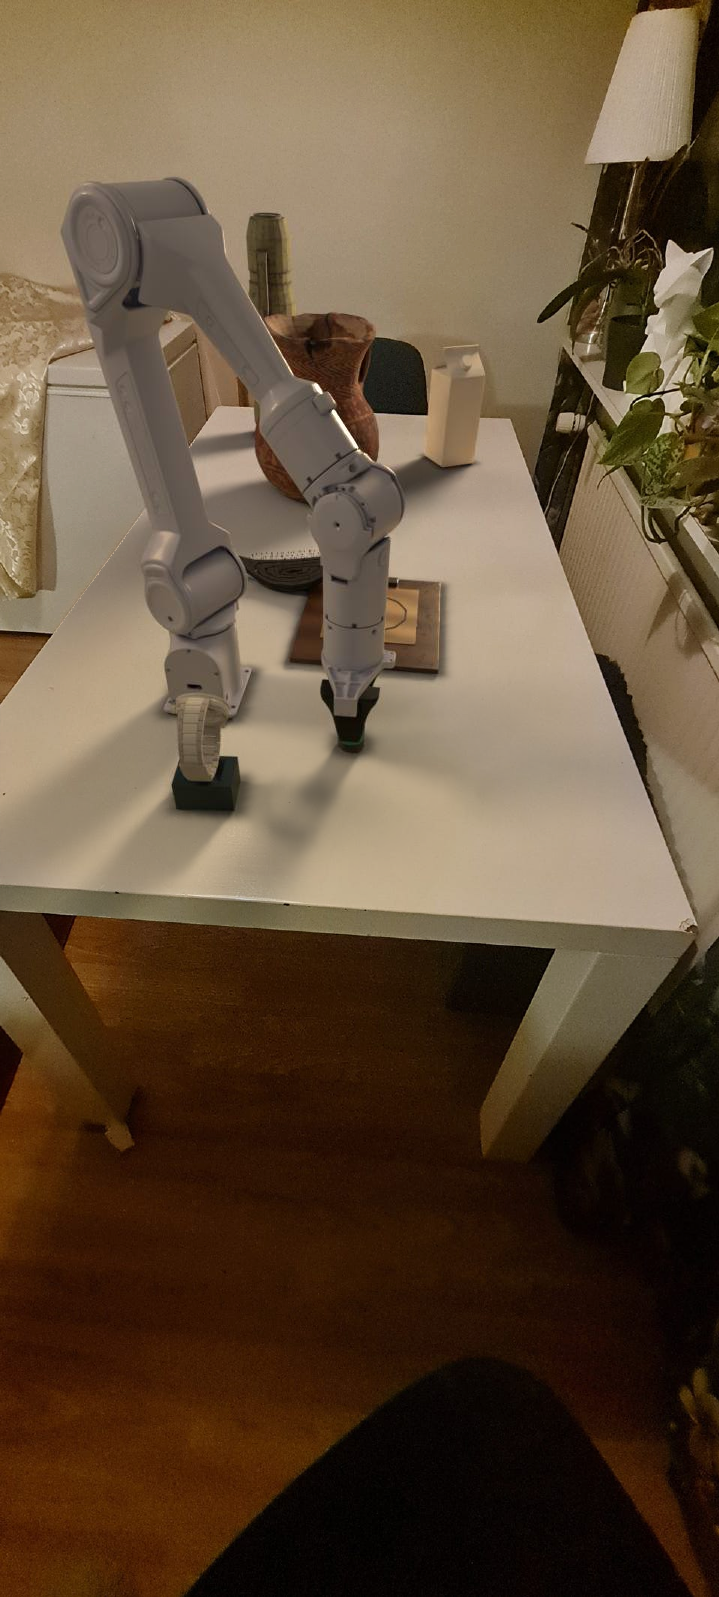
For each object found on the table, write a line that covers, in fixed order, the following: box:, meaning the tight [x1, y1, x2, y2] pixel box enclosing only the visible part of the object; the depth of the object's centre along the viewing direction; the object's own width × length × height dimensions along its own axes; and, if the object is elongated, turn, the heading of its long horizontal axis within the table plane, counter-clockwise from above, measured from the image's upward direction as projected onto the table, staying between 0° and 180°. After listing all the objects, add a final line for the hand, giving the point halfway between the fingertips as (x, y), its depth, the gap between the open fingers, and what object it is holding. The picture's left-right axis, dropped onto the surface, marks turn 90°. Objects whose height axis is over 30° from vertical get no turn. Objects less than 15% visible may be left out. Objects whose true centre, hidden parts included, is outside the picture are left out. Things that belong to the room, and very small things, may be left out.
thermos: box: [245, 212, 297, 424], centre depth 132 cm, size 9×12×35 cm
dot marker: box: [337, 725, 366, 754], centre depth 72 cm, size 3×3×7 cm
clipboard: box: [288, 576, 441, 674], centre depth 93 cm, size 22×18×1 cm
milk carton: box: [423, 344, 486, 468], centre depth 131 cm, size 7×7×19 cm
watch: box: [170, 693, 241, 812], centre depth 65 cm, size 6×8×11 cm
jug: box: [254, 311, 380, 503], centre depth 116 cm, size 22×21×25 cm
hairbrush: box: [237, 549, 323, 592], centre depth 99 cm, size 8×4×25 cm
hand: (351, 729), depth 73 cm, fingers closed on dot marker, 3 cm apart
